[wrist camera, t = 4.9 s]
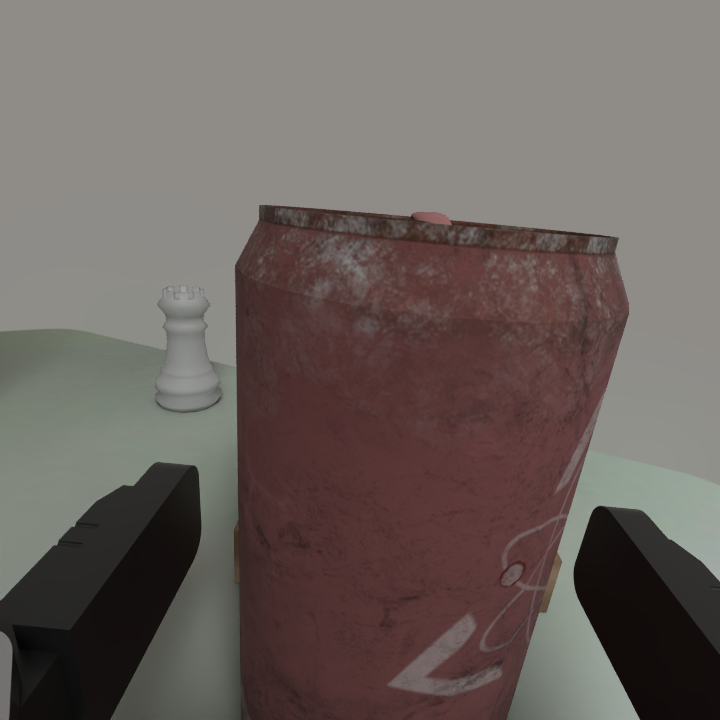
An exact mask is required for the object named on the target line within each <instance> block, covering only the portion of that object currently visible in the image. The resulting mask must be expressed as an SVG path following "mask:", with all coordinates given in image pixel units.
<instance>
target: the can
mask: <svg viewBox="0 0 720 720" xmlns="http://www.w3.org/2000/svg"><path fill="white" fill-rule="evenodd" d="M618 239H619V238H617V237H610V236H602V235H594V234H584V233H575V232H566V231H556V230H545V229H536V228H526V227H515V226H505V225H495V224H484V223H473V222H463V221H451V220H449V218H448V217H447V216H446V215H443V214H441V213H435V212H417V213H413V214H412V215H411V217H408V216H396V215H386V214H374V213H373V214H372V213H362V212H351V211H338V210H326V209H314V208H300V207H286V206H271V205H260V206H259V221H258V223H257V225H256V227H255V229H254V231H253V233H252V235H251V236H250V238H249V240H248V242H247V244H246V246H245V248H244V250H243V252H242V254H241V255H240V257H239V259H238V261H237V263H236V265H235V282H236V283H235V284H236V286H235V287H236V359H237V360H236V361H237V362H236V363H237V438H238V513H239V588H240V664H241V720H506V719H507V716H508V712H509V709H510V706H511V703H512V699H513V696H514V693H515V689H516V686H517V683H518V679H519V676H520V673H521V669H522V666H523V663H524V659H525V656H526V653H527V650H528V646H529V643H530V640H531V636H532V633H533V630H534V626H535V623H536V620H537V616H538V613H539V610H540V606H541V603H542V600H543V596H544V593H545V590H546V587H547V583H548V580H549V577H550V573H551V570H552V567H553V563H554V560H555V557H556V553H557V550H558V547H559V543H560V540H561V537H562V534H563V530H564V527H565V524H566V520H567V517H568V514H569V510H570V507H571V504H572V500H573V497H574V494H575V490H576V487H577V484H578V480H579V477H580V474H581V471H582V467H583V464H584V461H585V457H586V454H587V451H588V447H589V444H590V440H591V437H592V434H593V431H594V427H595V424H596V421H597V417H598V414H599V411H600V408H601V404H602V400H603V398H604V394H605V391H606V388H607V384H608V381H609V378H610V374H611V371H612V368H613V364H614V361H615V358H616V355H617V351H618V348H619V344H620V341H621V338H622V335H623V331H624V328H625V325H626V321H627V318H628V315H629V303H628V299H627V295H626V291H625V288H624V284H623V280H622V277H621V273H620V269H619V265H618V262H617V258H616V254H615V250H616V247H617V243H618Z"/></svg>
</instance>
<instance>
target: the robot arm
mask: <svg viewBox="0 0 720 720" xmlns="http://www.w3.org/2000/svg"><path fill="white" fill-rule="evenodd" d="M200 537H201V510H200V490H199V473H198V470H197V468H196V466H193V465H182V464H172V463H162V462H157V463H154V464H153V465H152V466H151V467H150V468H149V469H148V470H147V472H146V473H145V474H144V475H143V476H142V477H141V478H140V479H139V481H138V482H137V483H136V484H135V485H134V486H125V485H123V486H121V487H120V488H118V489H116V490H115V491H113V492H111V493H110V494H108V495H106V496H105V497H103V498H101V499H100V500H98V501H96V502H95V503H94V504H93V505H92V506H91V507H90V508H89V510H88V511H87V512H86V513H85V514H84V515H83V516H82V517H81V518H80V519H79V520H78V521H77V522H76V525H75V527H71V528H70V529H69V530H68V531H67V532H66V533H65V534H64V535H63V537H62V538H61V539H60V540H59V542H58V545H57V546H56V545H54V546H53V547H52V548H51V549H50V550H49V551H48V552H47V553H46V554H45V555H44V556H43V557H42V558H41V559H40V560H39V561H38V563H37V564H36V565H35V566H34V567H33V568H32V569H31V570H30V571H29V572H28V573H27V574H26V575H25V576H24V577H23V578H22V579H21V580H20V581H19V582H18V583H17V584H16V585H15V586H14V587H13V588H12V590H11V591H10V592H9V593H8V594H7V595H6V596H5V597H4V598H3V599H2V600H1V601H0V720H110V719H111V717H112V715H113V713H114V711H115V709H116V707H117V705H118V704H119V702H120V700H121V698H122V696H123V694H124V692H125V690H126V688H127V686H128V684H129V683H130V681H131V679H132V677H133V675H134V673H135V671H136V669H137V667H138V665H139V664H140V662H141V660H142V658H143V656H144V654H145V652H146V650H147V648H148V646H149V644H150V643H151V641H152V639H153V637H154V635H155V633H156V631H157V629H158V627H159V625H160V623H161V622H162V620H163V618H164V616H165V614H166V612H167V610H168V608H169V606H170V604H171V603H172V601H173V599H174V597H175V595H176V593H177V591H178V589H179V587H180V585H181V583H182V582H183V580H184V578H185V576H186V574H187V572H188V570H189V568H190V566H191V564H192V562H193V560H194V558H195V556H196V553H197V550H198V546H199V542H200ZM574 585H575V590H576V594H577V597H578V599H579V601H580V603H581V605H582V607H583V609H584V611H585V613H586V615H587V617H588V619H589V621H590V623H591V625H592V627H593V629H594V631H595V633H596V635H597V637H598V638H599V640H600V642H601V644H602V646H603V648H604V650H605V652H606V654H607V656H608V658H609V660H610V662H611V664H612V666H613V668H614V670H615V672H616V674H617V676H618V677H619V679H620V681H621V683H622V685H623V687H624V689H625V691H626V693H627V695H628V697H629V699H630V701H631V703H632V705H633V707H634V709H635V711H636V713H637V715H638V716H639V718H640V720H720V581H719V580H718V579H717V578H716V577H715V576H714V575H713V574H712V573H711V572H710V571H709V569H708V568H707V567H706V566H705V565H704V564H703V563H702V562H701V561H700V560H698V559H697V558H696V557H694V556H693V555H691V554H690V553H689V552H687V551H686V550H685V549H683V548H682V547H681V546H679V545H678V544H676V543H675V542H674V541H672V540H669V539H668V538H667V537H666V536H665V535H664V534H663V533H662V531H661V530H660V529H659V528H658V527H657V526H656V525H655V523H654V522H653V521H652V520H651V519H650V518H649V517H648V516H647V515H646V514H645V513H644V512H643V511H641V510H637V509H627V508H616V507H606V506H598V507H596V508H595V509H594V510H593V512H592V514H591V516H590V519H589V522H588V525H587V529H586V532H585V535H584V538H583V541H582V544H581V547H580V550H579V553H578V556H577V559H576V562H575V566H574Z"/></svg>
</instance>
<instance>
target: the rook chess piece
mask: <svg viewBox="0 0 720 720" xmlns="http://www.w3.org/2000/svg"><path fill="white" fill-rule="evenodd" d="M209 306H210V303H209V302H208V300H207V299H206V298H205V297H204V289H200V288H199V287H192V293H190V292H188V287H187V286H180V292H177V293H175V287H173V286H171V287H167V288H166V289H163V297H162V298H161V300H160V301H159V302H158V307H159V308H160V309H161V310H162V311H163V312H164V313H165V315H166V322H165V323H164V325H163V328H164V329H165V330H166V333H167V350H166V359H165V363H164V366H163V367H162V368H161V374H160V375H159V376H158V377H157V379H156V384H155V388H156V389H157V390H158V392H157V393H156V394H155V400H156V401H157V402H158V403H159V404H160V405H161V406H162V407H163V408H164V409H167V410H170V411H173V412H196V411H199V410H203V409H207V408H209V407H210V406H212V405H214V404H215V403H216V401H217V400H218V399H219V397H220V396H221V395H222V393H221V389H219V388H218V385H219V384H220V378H219V376H218V374H217V373H216V372H215V371H214V370H213V369H214V368H213V365H212V364H210V361H209V358H208V355H207V349H206V344H205V332H204V331H205V329H206V328H207V324H206V323H205V322H204V319H203V317H204V313H205V312H206V311H207V309H208V308H209Z"/></svg>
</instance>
